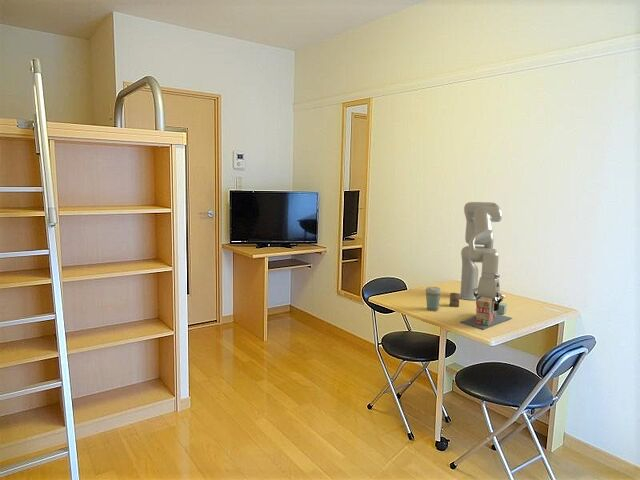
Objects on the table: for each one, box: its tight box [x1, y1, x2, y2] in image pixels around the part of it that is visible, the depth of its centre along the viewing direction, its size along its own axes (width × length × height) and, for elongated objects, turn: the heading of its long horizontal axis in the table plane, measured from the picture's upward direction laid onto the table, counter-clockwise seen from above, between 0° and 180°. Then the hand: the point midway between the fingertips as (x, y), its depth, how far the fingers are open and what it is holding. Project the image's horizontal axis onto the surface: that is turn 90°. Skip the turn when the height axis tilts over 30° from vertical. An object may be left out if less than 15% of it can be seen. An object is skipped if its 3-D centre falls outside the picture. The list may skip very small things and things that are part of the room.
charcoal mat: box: [459, 313, 513, 331], centre depth 231 cm, size 27×13×1 cm, turn 129°
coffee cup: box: [425, 286, 442, 312], centre depth 248 cm, size 8×8×12 cm
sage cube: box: [497, 302, 508, 316], centre depth 245 cm, size 5×5×5 cm
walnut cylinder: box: [449, 292, 460, 308], centre depth 256 cm, size 5×5×7 cm
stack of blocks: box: [475, 296, 498, 326], centre depth 231 cm, size 21×6×12 cm, turn 148°
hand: (487, 308), depth 230 cm, fingers open, 9 cm apart
